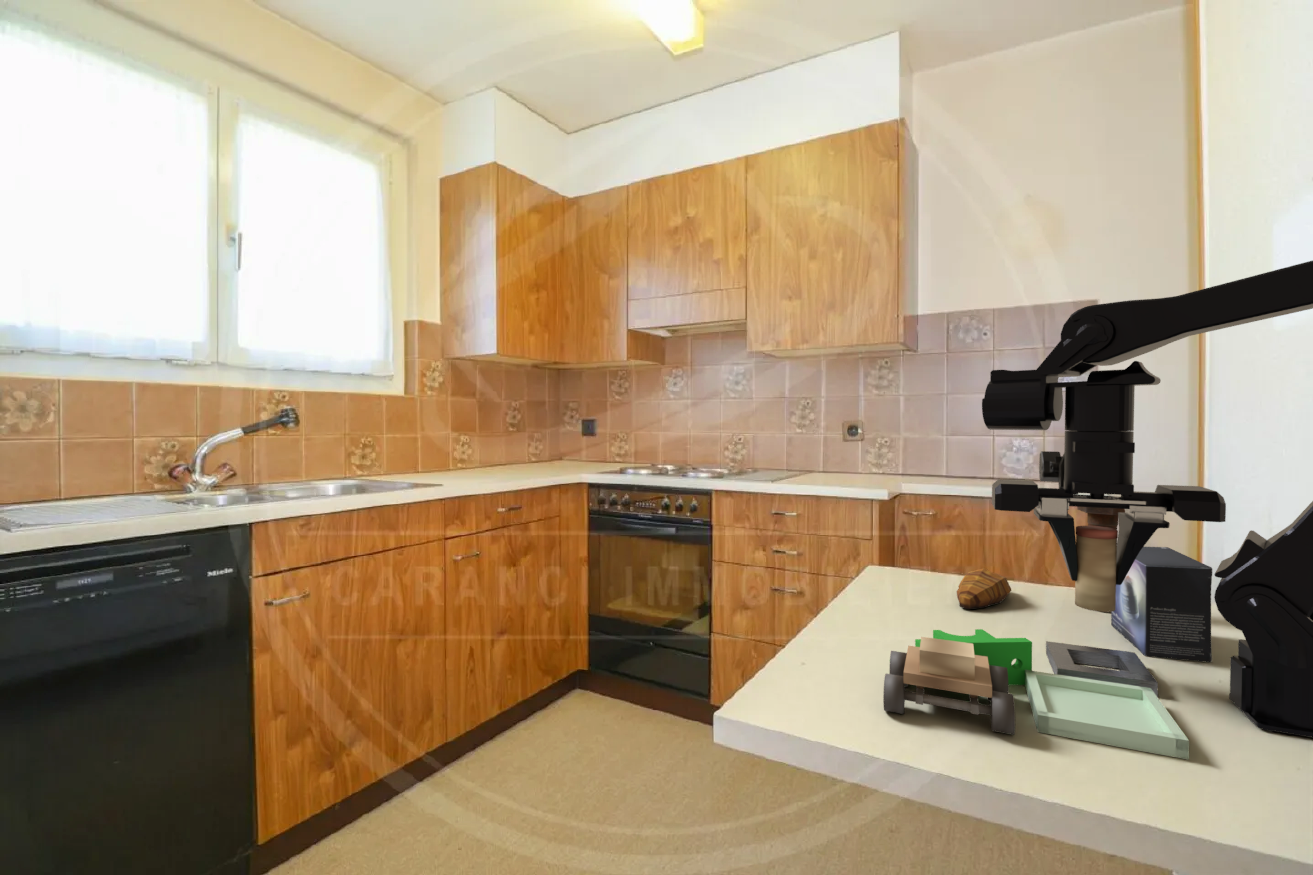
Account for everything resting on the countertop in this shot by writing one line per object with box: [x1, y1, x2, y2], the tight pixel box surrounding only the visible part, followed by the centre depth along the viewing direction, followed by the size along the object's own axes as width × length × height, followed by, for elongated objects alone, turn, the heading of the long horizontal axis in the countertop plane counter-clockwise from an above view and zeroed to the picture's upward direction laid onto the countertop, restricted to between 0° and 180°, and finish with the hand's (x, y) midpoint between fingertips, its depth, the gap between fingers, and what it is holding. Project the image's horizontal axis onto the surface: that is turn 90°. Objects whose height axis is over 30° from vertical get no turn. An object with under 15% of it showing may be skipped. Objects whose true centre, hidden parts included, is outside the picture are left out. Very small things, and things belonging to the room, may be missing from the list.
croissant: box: [956, 567, 1012, 610], centre depth 87 cm, size 14×7×5 cm, turn 131°
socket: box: [1045, 641, 1159, 697], centre depth 63 cm, size 8×8×1 cm
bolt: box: [1076, 507, 1125, 530], centre depth 83 cm, size 6×5×15 cm
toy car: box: [882, 636, 1016, 736], centre depth 56 cm, size 10×9×6 cm
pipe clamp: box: [914, 628, 1033, 686], centre depth 62 cm, size 11×4×5 cm, turn 90°
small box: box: [1110, 546, 1213, 663], centre depth 71 cm, size 11×6×10 cm, turn 161°
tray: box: [1024, 670, 1190, 760], centre depth 54 cm, size 10×10×2 cm
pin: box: [1074, 525, 1119, 613], centre depth 63 cm, size 4×4×8 cm
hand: (1095, 581), depth 63 cm, fingers closed on pin, 3 cm apart
